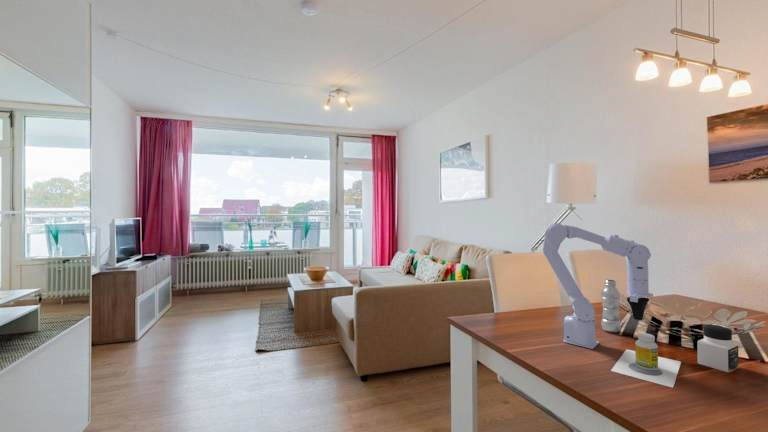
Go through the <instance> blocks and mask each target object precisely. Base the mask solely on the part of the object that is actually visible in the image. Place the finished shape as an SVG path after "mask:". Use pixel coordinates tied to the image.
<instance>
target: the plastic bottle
mask: <svg viewBox="0 0 768 432" xmlns="http://www.w3.org/2000/svg"><path fill="white" fill-rule="evenodd" d="M600 295H601V301H602V302H601V303H602V318H601V322H600V323H601V328H602V330H604V331H606V332H610V333H619V332H620V331H621V328H622V324H621V320H620V311H619V310H620V300H621V292H620V291H619V290H618V288H617V281H616V279H605V280H604V287H603V289H602V290H601V292H600Z"/></svg>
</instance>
